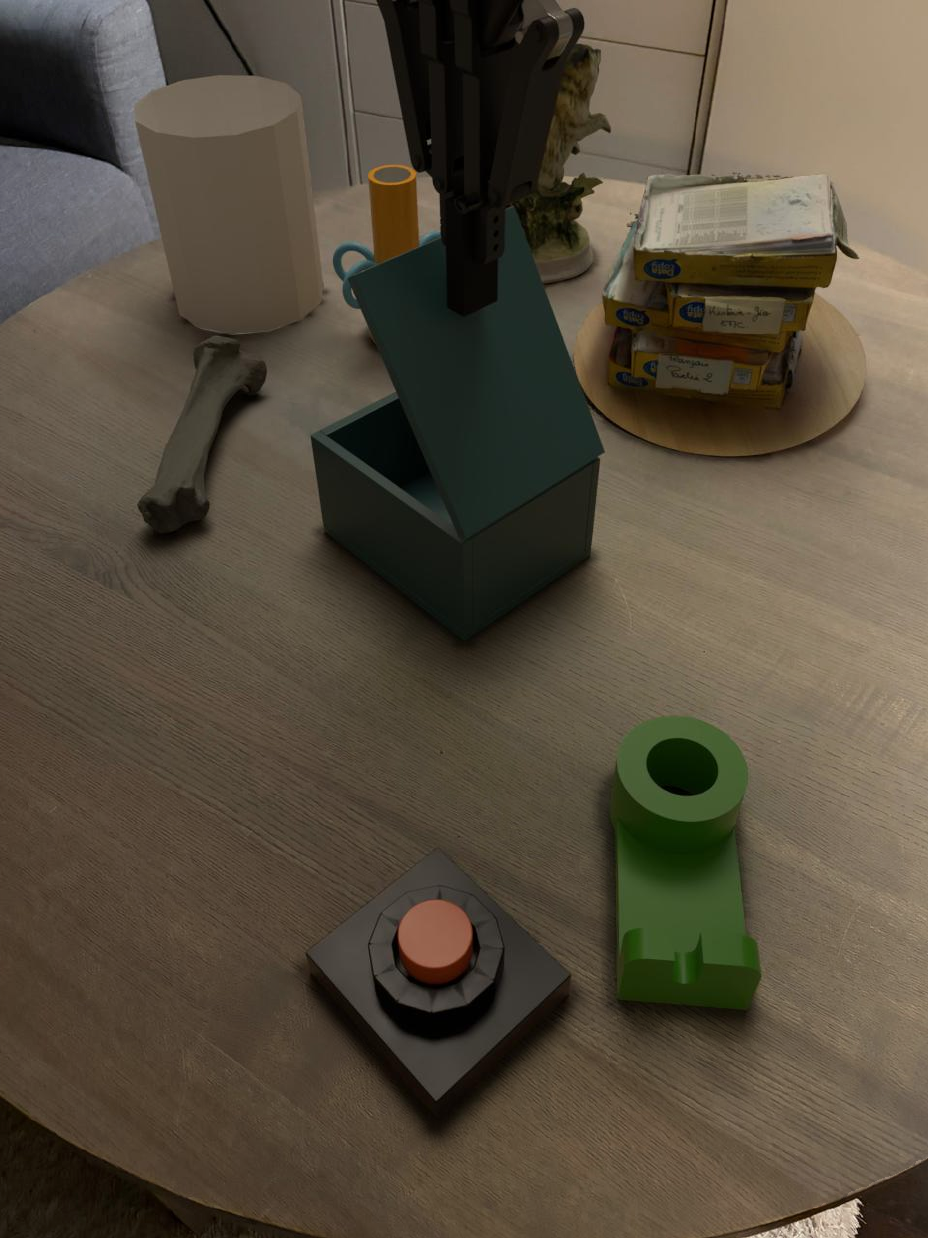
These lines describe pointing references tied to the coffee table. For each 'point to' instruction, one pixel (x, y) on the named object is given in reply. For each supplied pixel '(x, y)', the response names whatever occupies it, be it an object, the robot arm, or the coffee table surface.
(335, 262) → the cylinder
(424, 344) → the tin lid
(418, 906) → the button
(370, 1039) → the control block
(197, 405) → the bone
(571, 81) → the figurine
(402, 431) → the tin
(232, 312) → the container
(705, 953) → the green ring bracket
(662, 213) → the paper stack
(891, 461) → the coffee table surface
